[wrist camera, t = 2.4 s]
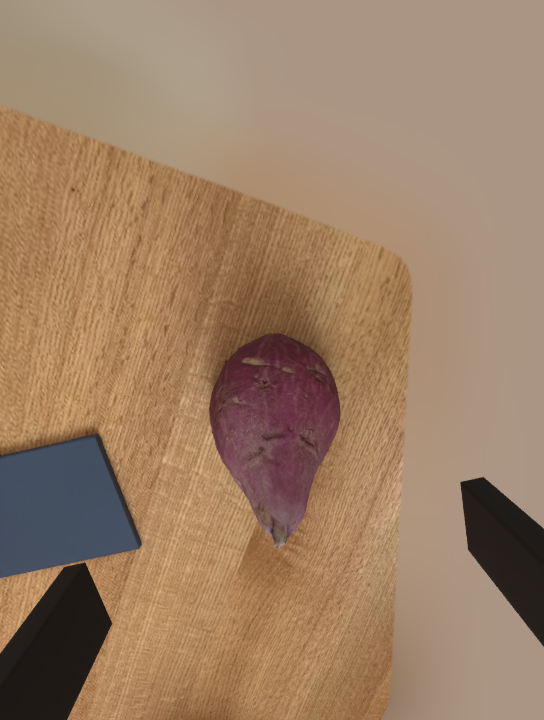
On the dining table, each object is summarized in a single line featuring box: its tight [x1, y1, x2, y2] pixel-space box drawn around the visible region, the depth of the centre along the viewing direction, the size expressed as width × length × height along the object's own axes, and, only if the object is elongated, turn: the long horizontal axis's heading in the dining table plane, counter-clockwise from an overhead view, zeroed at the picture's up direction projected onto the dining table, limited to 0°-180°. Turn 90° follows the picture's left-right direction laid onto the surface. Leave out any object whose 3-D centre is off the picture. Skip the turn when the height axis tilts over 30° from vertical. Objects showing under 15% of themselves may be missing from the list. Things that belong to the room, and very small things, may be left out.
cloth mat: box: [0, 434, 141, 578], centre depth 29 cm, size 16×12×1 cm
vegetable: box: [209, 334, 340, 548], centre depth 21 cm, size 10×10×15 cm
